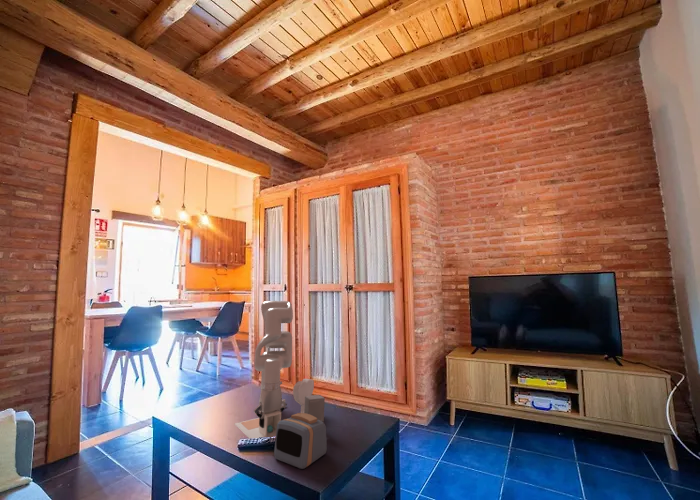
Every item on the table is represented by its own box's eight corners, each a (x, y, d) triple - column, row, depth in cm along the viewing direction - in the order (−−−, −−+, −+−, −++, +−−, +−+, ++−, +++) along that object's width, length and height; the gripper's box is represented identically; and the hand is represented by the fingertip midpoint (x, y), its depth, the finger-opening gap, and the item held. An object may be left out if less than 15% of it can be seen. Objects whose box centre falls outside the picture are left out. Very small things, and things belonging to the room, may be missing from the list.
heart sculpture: (306, 409, 183) (307, 376, 185) (314, 411, 181) (315, 377, 183) (290, 419, 169) (292, 383, 171) (298, 421, 167) (300, 384, 169)
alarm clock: (271, 459, 130) (273, 417, 131) (298, 443, 143) (299, 405, 145) (303, 472, 121) (305, 427, 123) (328, 454, 135) (329, 413, 137)
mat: (264, 417, 171) (264, 416, 171) (288, 435, 151) (288, 433, 151) (233, 424, 161) (233, 423, 161) (254, 445, 141) (255, 443, 141)
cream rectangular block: (273, 427, 158) (274, 407, 159) (280, 432, 152) (281, 412, 153) (258, 431, 153) (259, 411, 154) (265, 437, 147) (266, 416, 148)
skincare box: (307, 435, 151) (309, 400, 153) (302, 429, 157) (303, 395, 159) (324, 432, 155) (325, 397, 157) (318, 426, 161) (319, 393, 163)
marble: (271, 430, 155) (271, 423, 155) (273, 432, 152) (274, 425, 153) (265, 431, 153) (265, 425, 153) (267, 434, 150) (268, 427, 151)
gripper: (284, 380, 163) (282, 418, 161) (250, 386, 153) (248, 426, 150) (291, 384, 158) (290, 423, 155) (257, 390, 147) (255, 432, 145)
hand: (269, 424), depth 153 cm, fingers closed on cream rectangular block, 7 cm apart
